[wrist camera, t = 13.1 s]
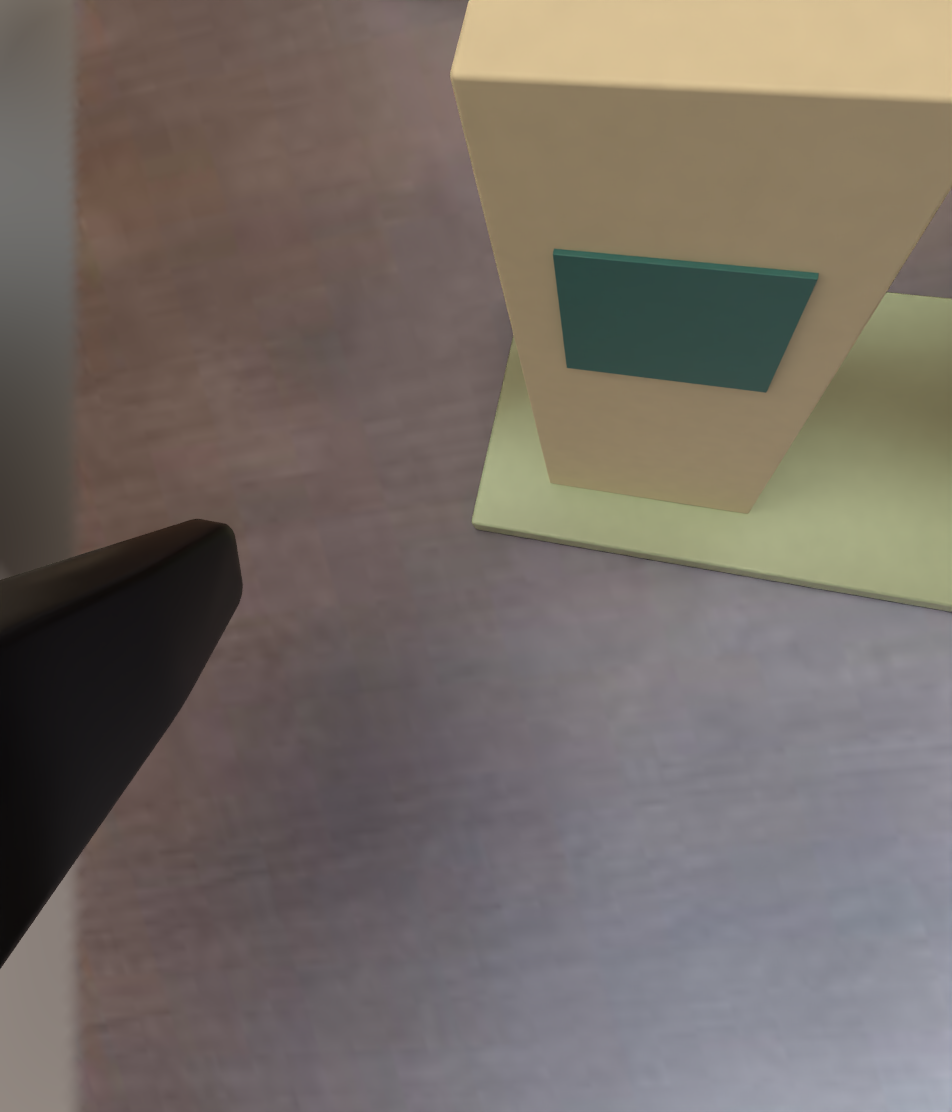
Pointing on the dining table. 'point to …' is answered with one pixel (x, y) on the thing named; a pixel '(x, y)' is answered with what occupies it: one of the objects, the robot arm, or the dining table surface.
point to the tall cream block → (697, 215)
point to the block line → (782, 479)
